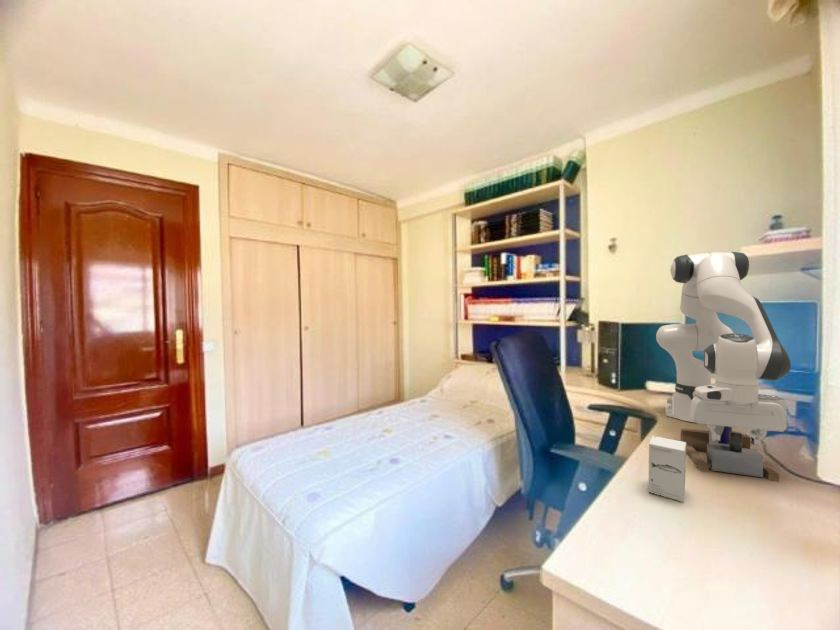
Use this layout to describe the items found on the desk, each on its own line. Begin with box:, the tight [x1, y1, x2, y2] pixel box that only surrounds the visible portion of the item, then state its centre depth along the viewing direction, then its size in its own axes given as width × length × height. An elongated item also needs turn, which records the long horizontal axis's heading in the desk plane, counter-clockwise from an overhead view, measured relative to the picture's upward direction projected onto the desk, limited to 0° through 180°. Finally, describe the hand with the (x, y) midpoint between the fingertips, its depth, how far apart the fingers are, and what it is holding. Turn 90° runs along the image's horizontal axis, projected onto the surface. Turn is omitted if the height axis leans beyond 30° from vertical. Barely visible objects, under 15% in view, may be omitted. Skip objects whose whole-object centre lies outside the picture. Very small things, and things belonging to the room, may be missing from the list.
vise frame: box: [680, 427, 780, 482], centre depth 104 cm, size 18×17×6 cm
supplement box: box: [647, 435, 687, 503], centre depth 88 cm, size 7×7×13 cm
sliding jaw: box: [706, 430, 764, 478], centre depth 98 cm, size 4×11×11 cm, turn 67°
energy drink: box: [708, 425, 733, 447], centre depth 107 cm, size 5×5×12 cm
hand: (735, 442), depth 97 cm, fingers open, 7 cm apart
